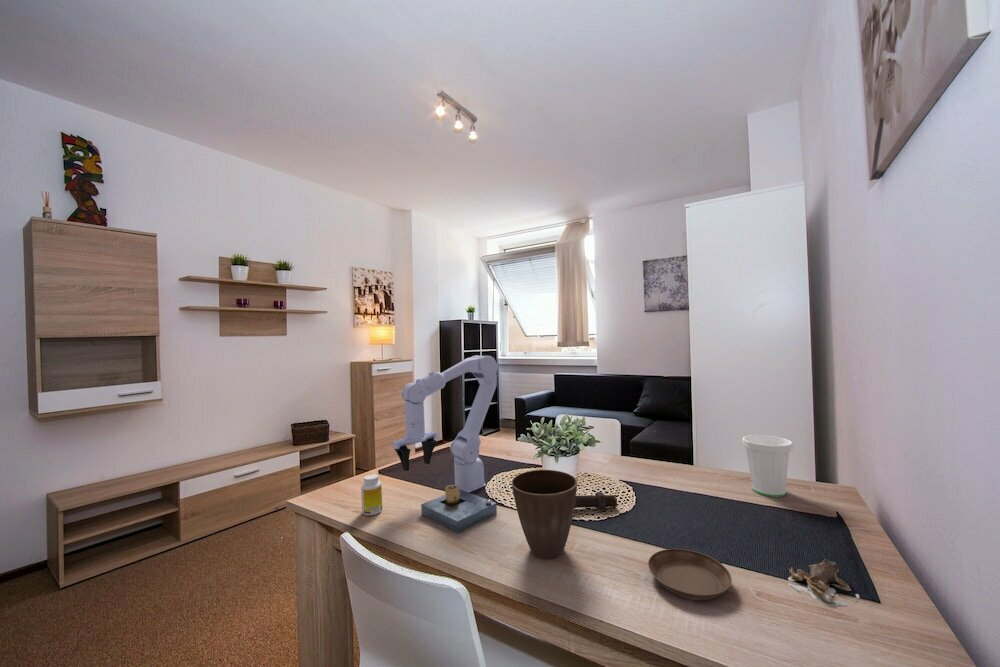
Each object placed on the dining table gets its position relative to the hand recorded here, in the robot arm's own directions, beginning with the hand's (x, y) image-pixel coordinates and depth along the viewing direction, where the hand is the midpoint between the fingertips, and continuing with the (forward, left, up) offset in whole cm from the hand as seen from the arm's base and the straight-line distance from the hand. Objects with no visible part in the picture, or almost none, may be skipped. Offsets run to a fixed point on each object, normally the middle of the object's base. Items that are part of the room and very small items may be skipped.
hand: (416, 466), depth 121 cm
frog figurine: (-27, +94, -11) cm, 98 cm away
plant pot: (-3, +47, -11) cm, 48 cm away
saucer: (-12, +75, -11) cm, 77 cm away
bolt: (-28, +43, -11) cm, 53 cm away
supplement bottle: (+13, -4, -11) cm, 17 cm away
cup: (-71, +78, -11) cm, 106 cm away
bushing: (-2, +14, -10) cm, 18 cm away
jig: (-2, +17, -10) cm, 20 cm away
